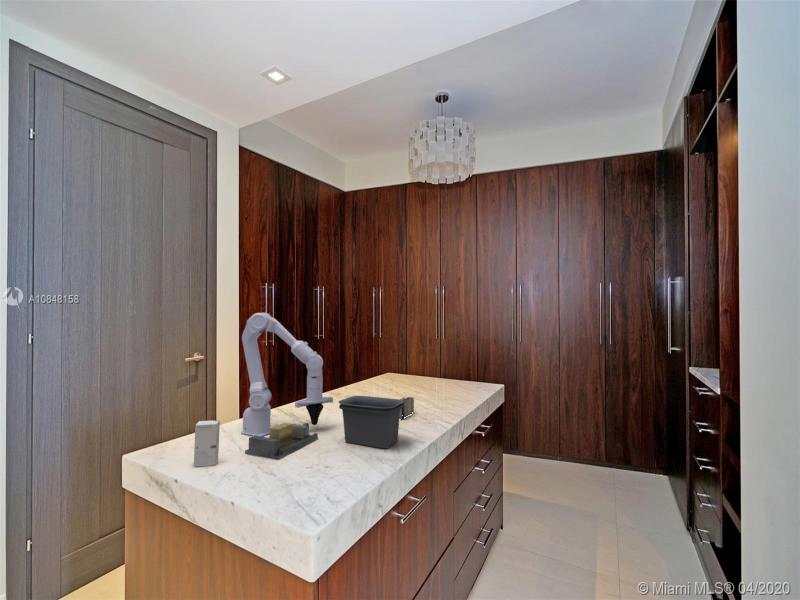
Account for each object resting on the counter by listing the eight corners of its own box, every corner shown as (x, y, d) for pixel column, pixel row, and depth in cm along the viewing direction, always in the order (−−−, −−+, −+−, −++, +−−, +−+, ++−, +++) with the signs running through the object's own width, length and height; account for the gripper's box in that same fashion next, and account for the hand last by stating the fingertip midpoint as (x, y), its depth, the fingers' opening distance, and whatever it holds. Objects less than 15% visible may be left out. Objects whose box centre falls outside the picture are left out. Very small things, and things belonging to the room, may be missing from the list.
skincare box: (193, 467, 116) (193, 425, 116) (197, 461, 120) (197, 420, 120) (216, 465, 117) (216, 423, 117) (219, 459, 122) (220, 419, 122)
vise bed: (244, 453, 127) (245, 437, 127) (287, 434, 146) (287, 420, 146) (278, 460, 122) (278, 442, 122) (317, 439, 141) (318, 424, 141)
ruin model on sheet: (402, 421, 165) (402, 397, 165) (396, 420, 166) (396, 397, 166) (414, 415, 175) (414, 392, 175) (408, 414, 176) (408, 392, 176)
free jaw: (280, 436, 140) (280, 424, 140) (295, 429, 148) (295, 418, 148) (304, 440, 136) (304, 428, 136) (318, 433, 144) (318, 422, 144)
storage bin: (333, 444, 136) (334, 401, 137) (357, 431, 150) (357, 393, 151) (389, 454, 127) (390, 408, 128) (409, 439, 142) (409, 398, 142)
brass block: (269, 446, 130) (269, 428, 130) (283, 440, 137) (283, 422, 137) (278, 448, 129) (278, 429, 129) (292, 441, 135) (292, 423, 135)
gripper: (327, 383, 158) (327, 418, 158) (291, 388, 149) (291, 424, 149) (335, 386, 152) (335, 422, 152) (299, 391, 144) (299, 429, 143)
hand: (314, 424), depth 150 cm, fingers closed
